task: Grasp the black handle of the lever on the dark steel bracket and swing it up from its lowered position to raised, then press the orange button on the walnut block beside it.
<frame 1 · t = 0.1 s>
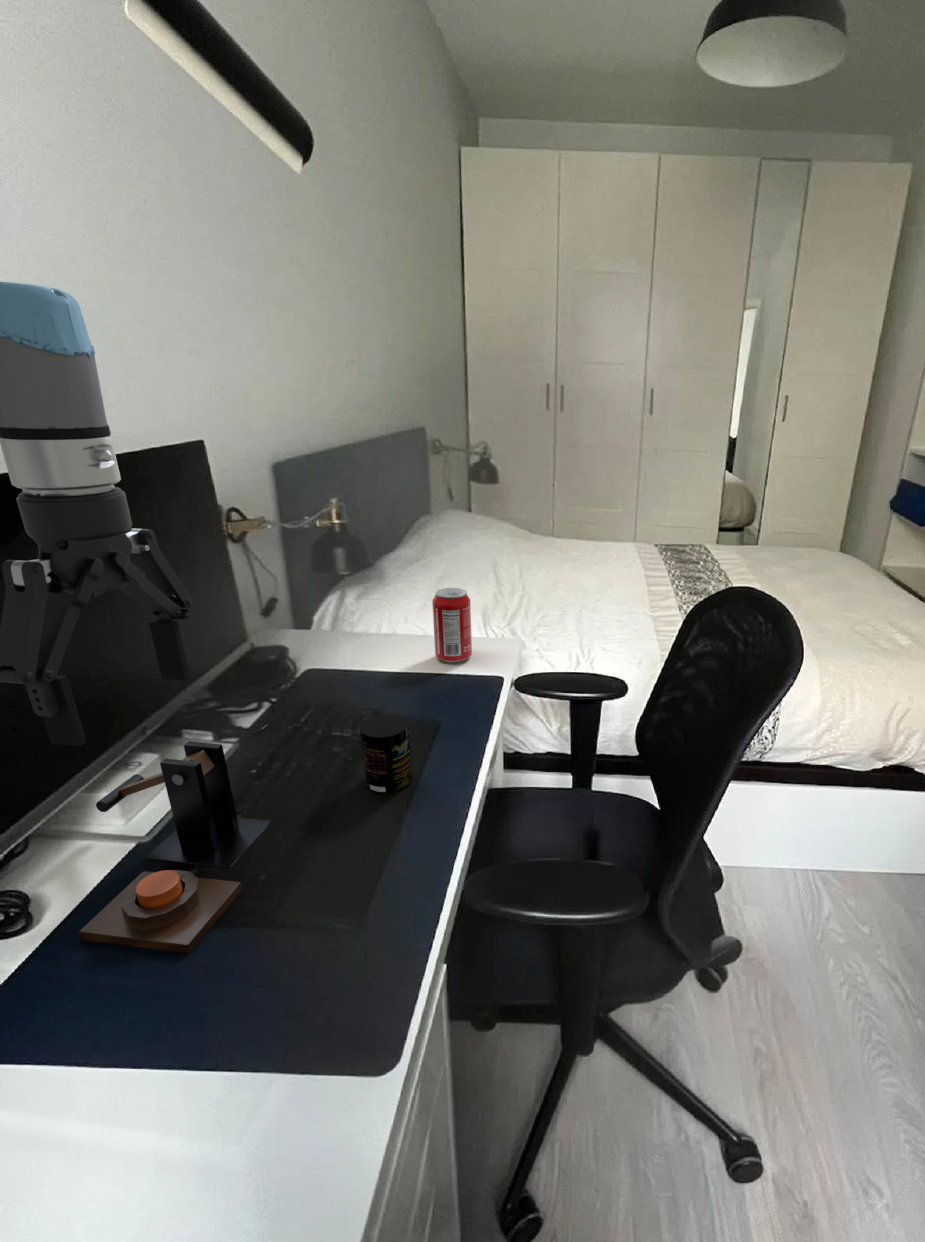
hand: (127, 707, 63), 25 cm above the table, tool pointing down, fingers open, 13 cm apart
supplement container: (390, 787, 96), on the table
button block: (168, 920, 71), on the table
soda can: (453, 658, 140), on the table
lever: (159, 778, 79), point 10 cm above the table, hinge at -25.0°
bracket: (212, 846, 82), on the table
button: (159, 889, 69), point 4 cm above the table, slide at 0.1 cm
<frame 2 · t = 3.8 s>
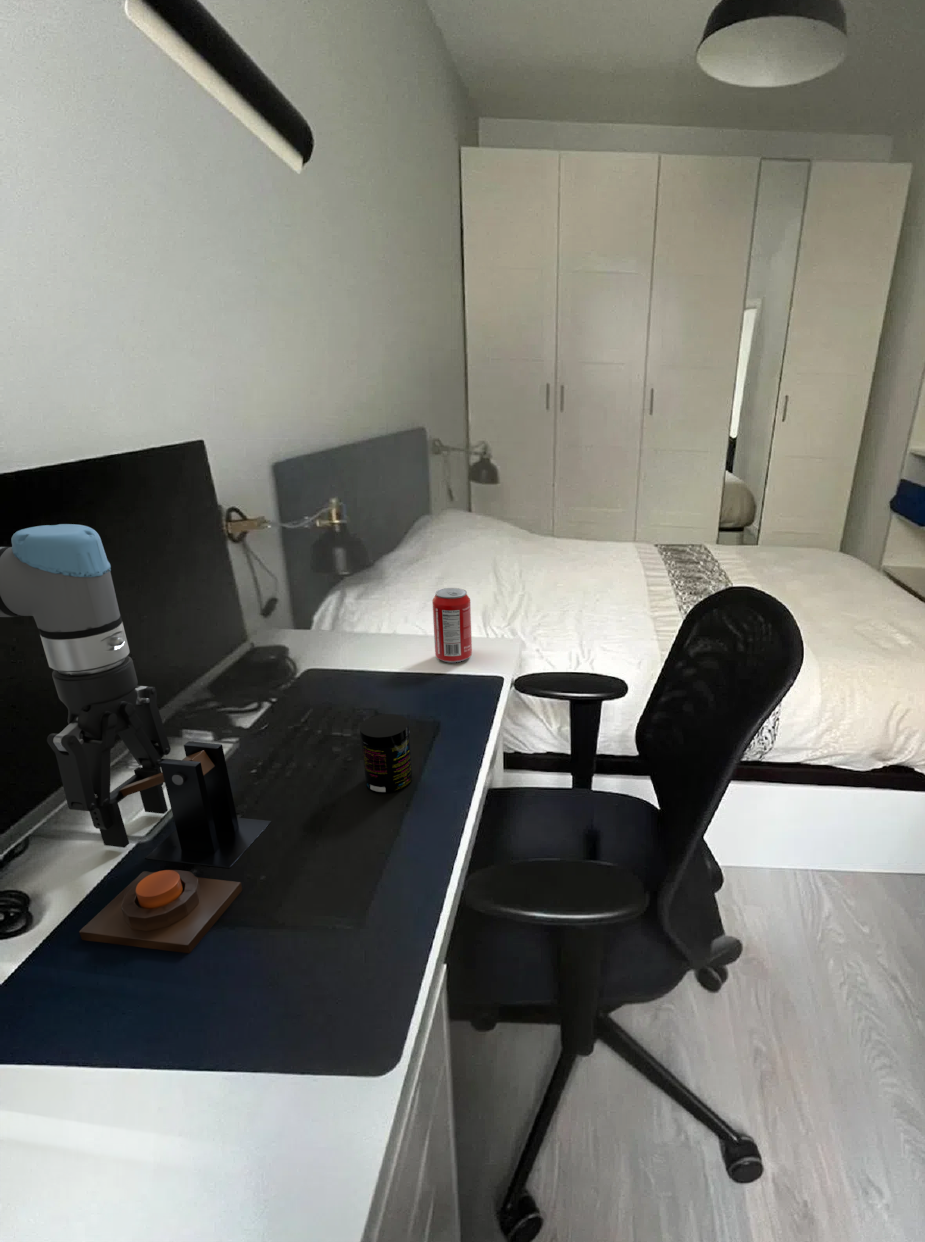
hand: (137, 826, 82), 2 cm above the table, tool pointing down, fingers closed on lever, 6 cm apart
lever: (159, 778, 79), point 10 cm above the table, hinge at -25.0°, touching gripper
everything else where it was.
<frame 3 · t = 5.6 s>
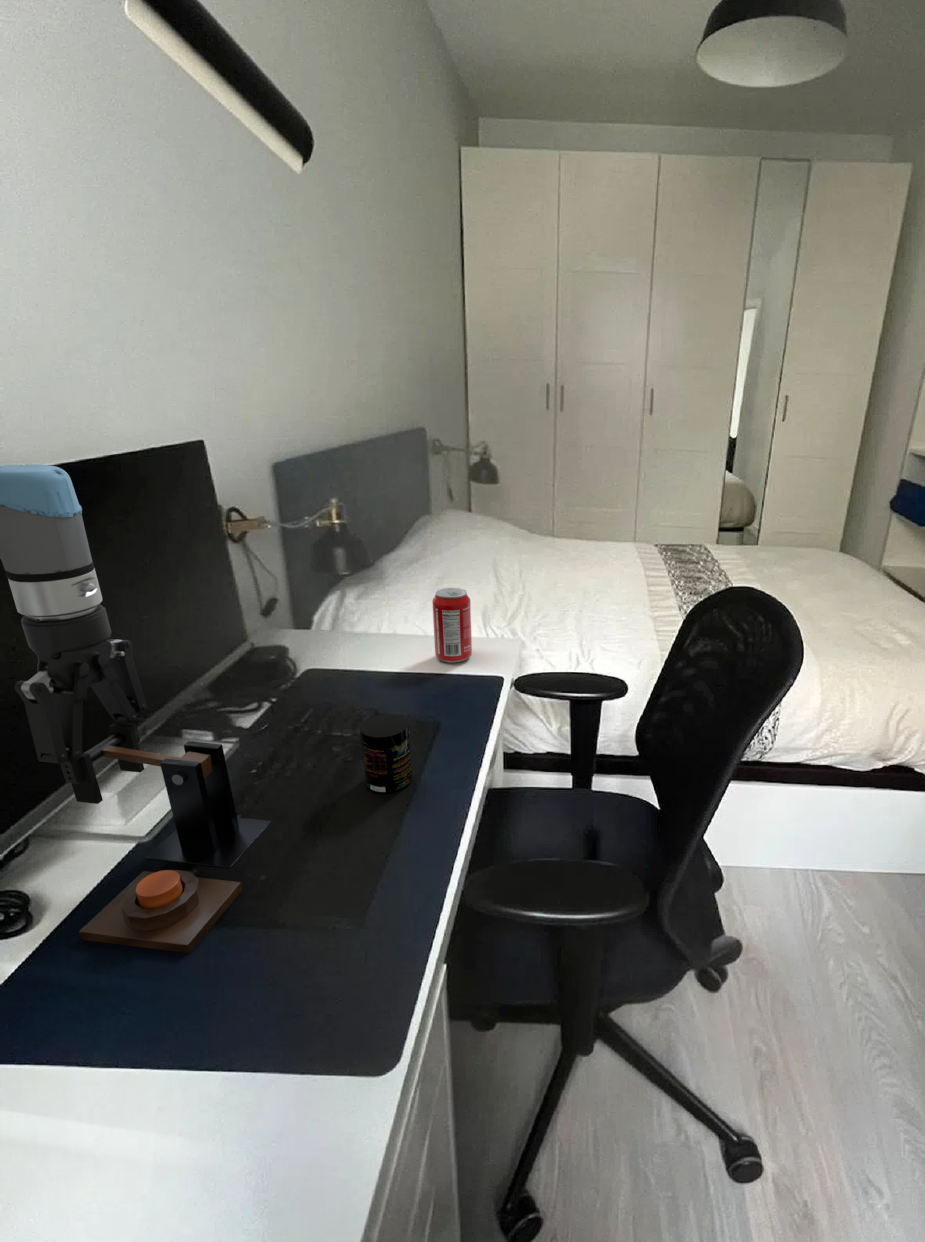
hand: (112, 784, 80), 8 cm above the table, tool pointing down, fingers closed on lever, 6 cm apart
lever: (150, 758, 78), point 12 cm above the table, hinge at 4.7°, touching gripper
everything else where it was.
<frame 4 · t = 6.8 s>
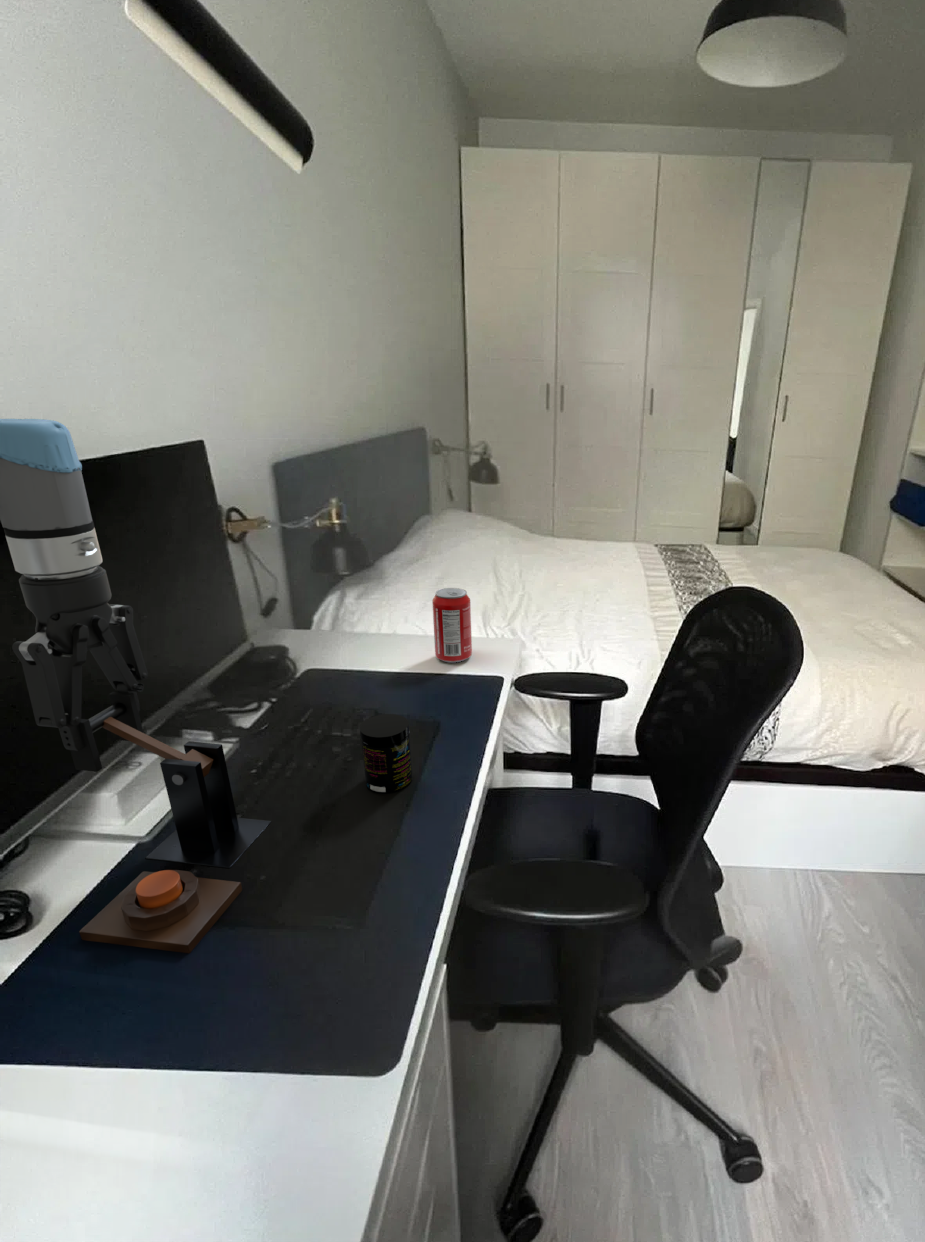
hand: (111, 753, 78), 13 cm above the table, tool pointing down, fingers closed on lever, 6 cm apart
lever: (150, 744, 77), point 15 cm above the table, hinge at 26.4°, touching gripper
everything else where it was.
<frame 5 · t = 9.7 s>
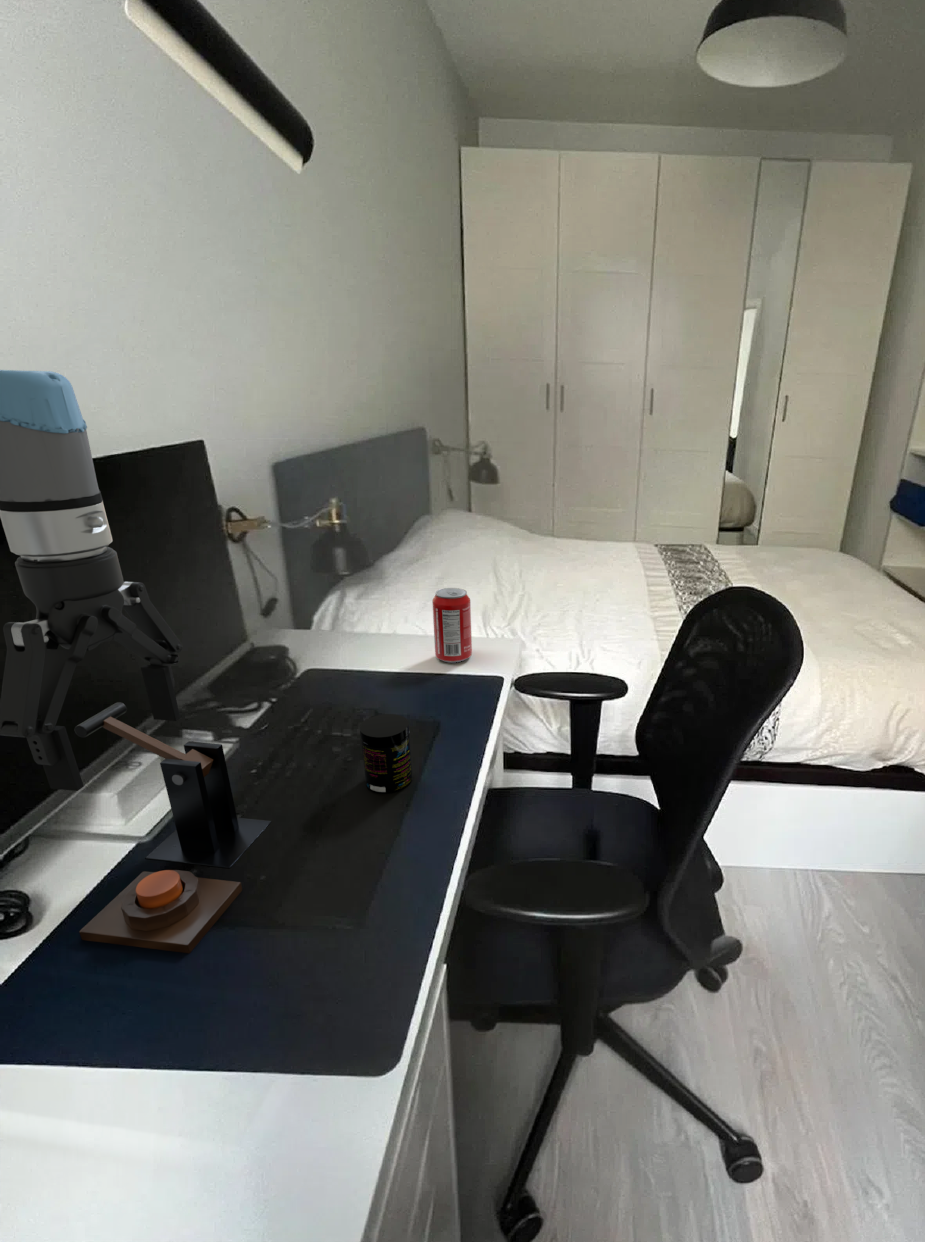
hand: (122, 750, 67), 19 cm above the table, tool pointing down, fingers open, 13 cm apart
lever: (150, 744, 77), point 15 cm above the table, hinge at 26.6°
everything else where it was.
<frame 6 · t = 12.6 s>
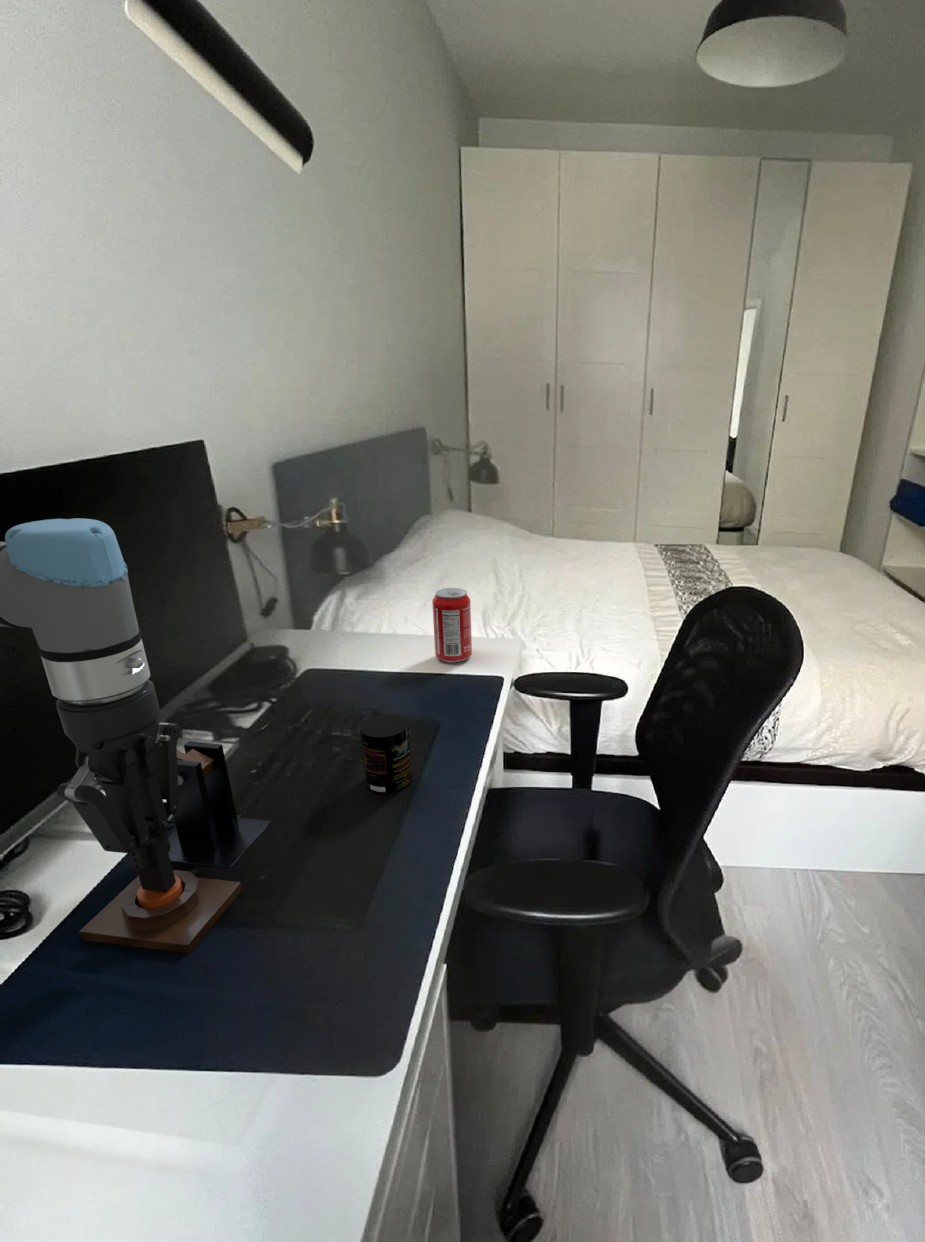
hand: (159, 885, 69), 5 cm above the table, tool pointing down, fingers closed
button: (160, 893, 69), point 4 cm above the table, slide at -0.5 cm, touching gripper
everything else where it was.
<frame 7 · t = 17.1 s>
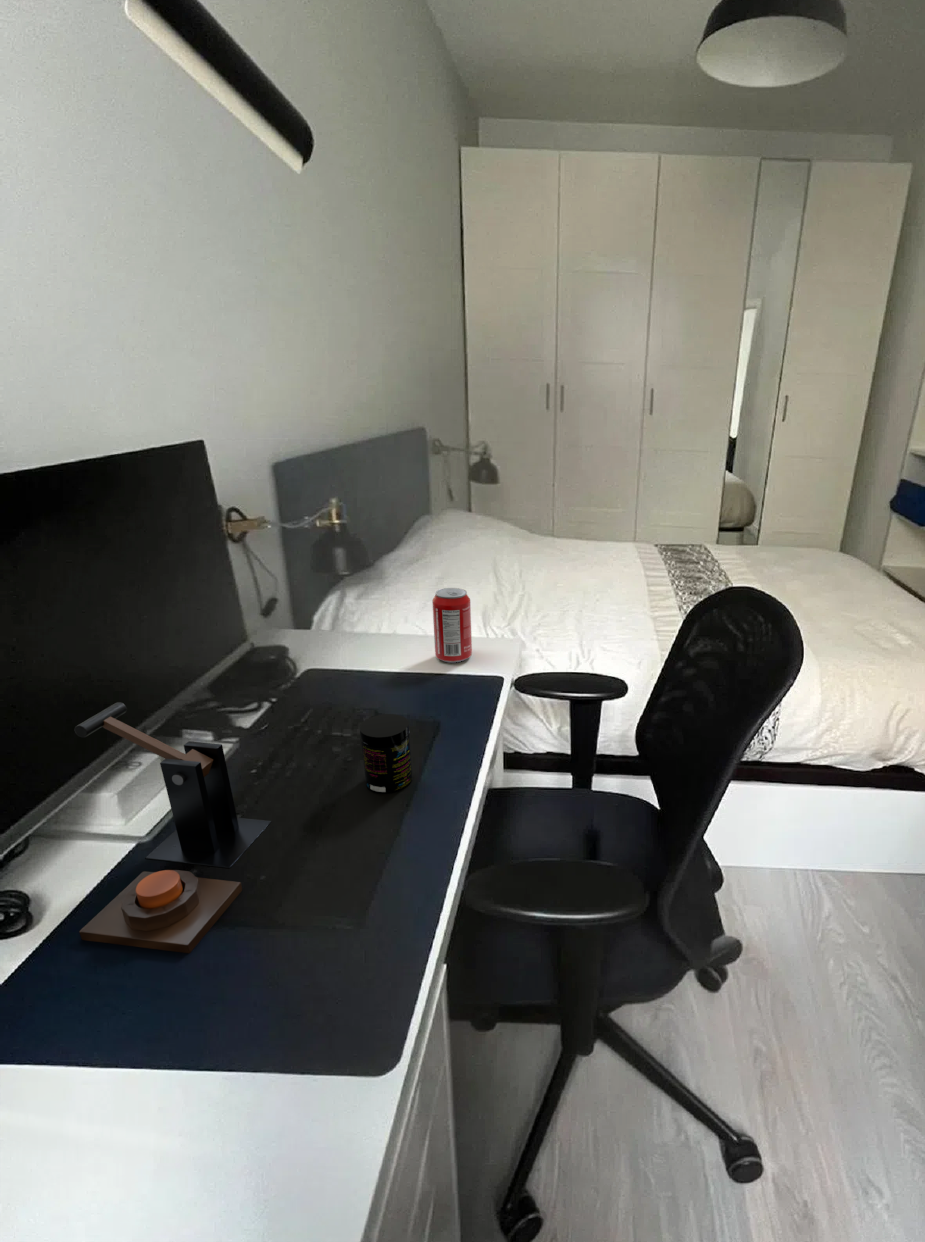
button: (159, 889, 69), point 4 cm above the table, slide at 0.1 cm
everything else where it was.
at the end: lever at +27° (first picture: -25°); button pushed in 1.0 cm at the most during the clip, back to where it started at the end; button slide at 0.1 cm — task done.
